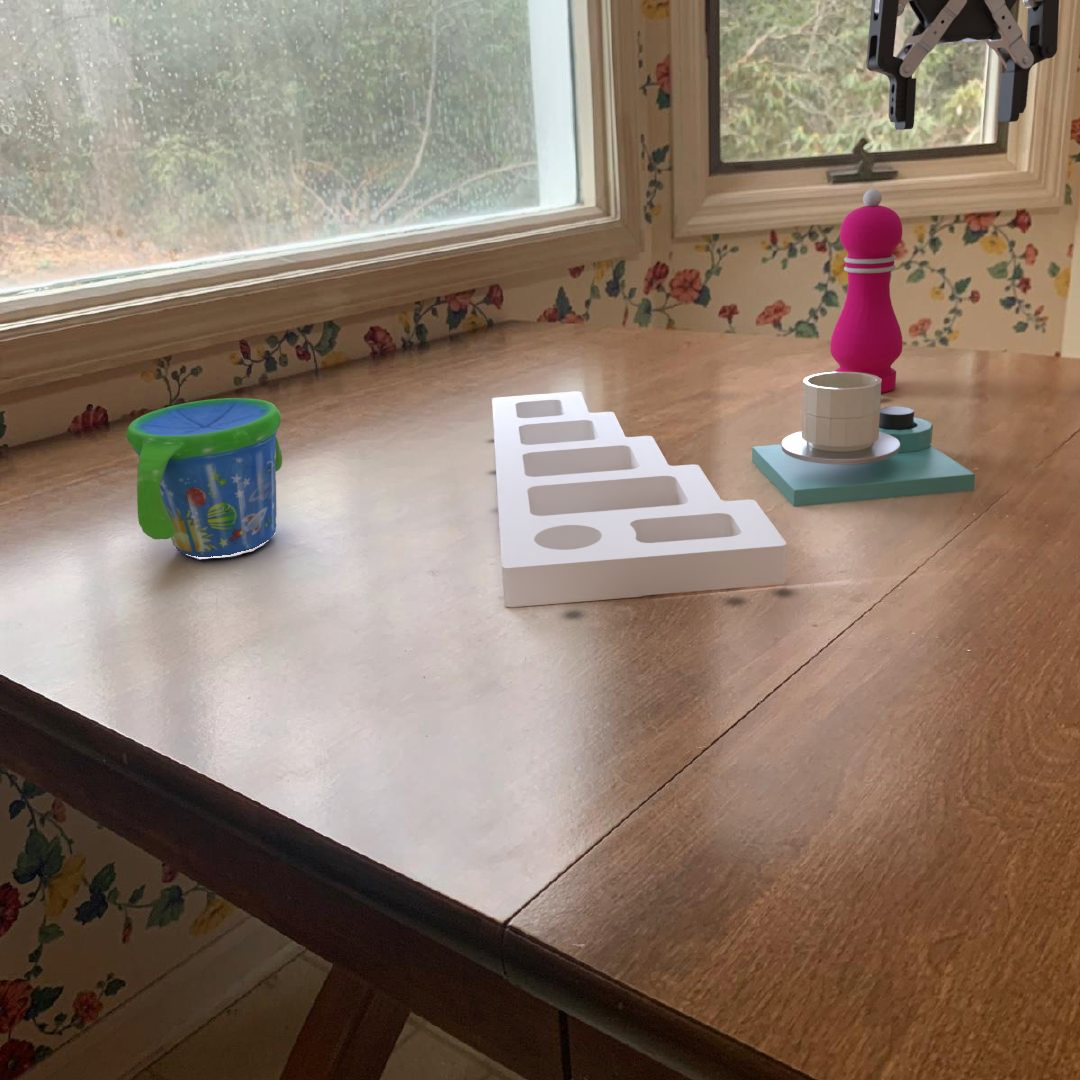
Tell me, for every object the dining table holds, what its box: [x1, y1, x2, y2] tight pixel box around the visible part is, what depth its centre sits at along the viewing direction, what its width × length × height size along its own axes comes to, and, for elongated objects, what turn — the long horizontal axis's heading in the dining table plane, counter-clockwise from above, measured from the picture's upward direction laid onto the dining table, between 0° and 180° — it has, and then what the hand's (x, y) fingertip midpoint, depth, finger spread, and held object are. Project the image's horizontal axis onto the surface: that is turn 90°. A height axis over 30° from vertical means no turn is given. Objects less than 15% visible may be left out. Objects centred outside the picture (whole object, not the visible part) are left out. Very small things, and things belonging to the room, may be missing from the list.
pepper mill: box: [829, 188, 903, 394], centre depth 111 cm, size 7×7×20 cm
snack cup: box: [125, 397, 283, 560], centre depth 81 cm, size 16×10×10 cm
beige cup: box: [801, 371, 882, 452], centre depth 85 cm, size 6×6×5 cm
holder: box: [491, 390, 787, 608], centre depth 89 cm, size 45×18×3 cm, turn 3°
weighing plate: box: [780, 430, 900, 465], centre depth 86 cm, size 9×9×1 cm
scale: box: [751, 416, 976, 508], centre depth 88 cm, size 14×12×3 cm
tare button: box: [879, 405, 915, 430], centre depth 90 cm, size 3×3×2 cm
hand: (956, 125), depth 87 cm, fingers open, 8 cm apart
